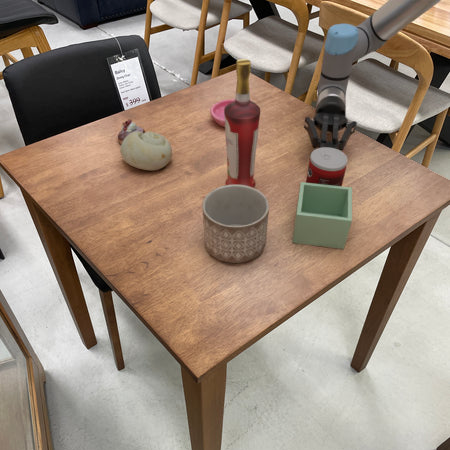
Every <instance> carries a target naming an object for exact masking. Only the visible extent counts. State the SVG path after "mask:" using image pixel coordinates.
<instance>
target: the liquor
mask: <svg viewBox="0 0 450 450" xmlns="http://www.w3.org/2000/svg"><path fill="white" fill-rule="evenodd" d="M235 65H236V67H235V68H236V69H235V70H236V71H235V73H236V89H235V96H234V97H235V100H234V101H232V102H231V103H229V104H228V105H227V106H226V107H225V108H224V115H225V127H224V134H225V147H226V169H227V171H226V172H227V173H226V175H227V178H226V180H225V185H234V184H237V185H246V186H250V187H253V188H255V186H256V180H255V179H254V178H255V177H254V176H255V163H256V155H257V146H258V139H259V138H258V137H259V129H260V119H261V108H260V106H259V105H258V104H256V102H254V101H252V100H251V97H250V96H251V95H250V93H251V92H250V75H251V68H252V67H251V66H252V62H251V60H250V59H248V58H247V59H246V58H240V59H237V60H236V63H235Z"/></svg>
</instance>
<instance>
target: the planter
mask: <svg viewBox="0 0 450 450" xmlns="http://www.w3.org/2000/svg"><path fill="white" fill-rule="evenodd" d="M201 205H202V206H201V207H202V208H201V209H202V224H203V225H202V226H203V227H202V228H203V242H204V246H205V249H206V250H207V252H208V253H209V254H210V255H211V256H212V257H214V258H215V259H217V260H219V261H222V262H226V263H232V264H239V263H245V262H246V263H247V262H248V261H252V260H254V259H256V258H257V257H258V256H260V255H261V254H262V252H263V251H264V249H265V247H266V244H267V234H268V223H269V216H270V215H269V214H270V213H269V212H270V202H269V199H268V198H267V196H266V194H264V193H263V192H262V191H261V190H259V189H257V188H255V187H250V186H246V185H237V184H234V185H226V184H225V185H221V186H218V187H215V188H214V189H212V190H211V191H210V192H208V193H207V194H206V195H205V196H204V198H203V201H202V204H201Z"/></svg>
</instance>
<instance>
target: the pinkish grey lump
mask: <svg viewBox="0 0 450 450" xmlns="http://www.w3.org/2000/svg"><path fill="white" fill-rule="evenodd" d="M136 131H139V132H142V133H146V132H147V131H146V130H145V129H144V128H143V127H141V126H138V125H137V123H135V122H134V121H132V119H131V118H128V119H127V120H125V121H124V122H122V125H121V130H120V131H119V132H118V134H117V142H118V144H119V145H121V144H122V142H123V140H124V139H125V137H126V136H128V135H129V134H130V133H132V132H136Z"/></svg>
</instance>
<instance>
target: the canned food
mask: <svg viewBox="0 0 450 450" xmlns="http://www.w3.org/2000/svg"><path fill="white" fill-rule="evenodd" d="M347 166H348V156H347V155H346V153H344V152H343V151H342V150H339V149H334V148H329V147H323V148H319V147H317V148H314V150H313V151H311V153H310V156H309V161H308V167H307V173H306V178H305V179H306V180H305V183H314V184H323V185H333V186H342V187H343V183H344V178H345V174H346V171H347Z"/></svg>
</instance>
